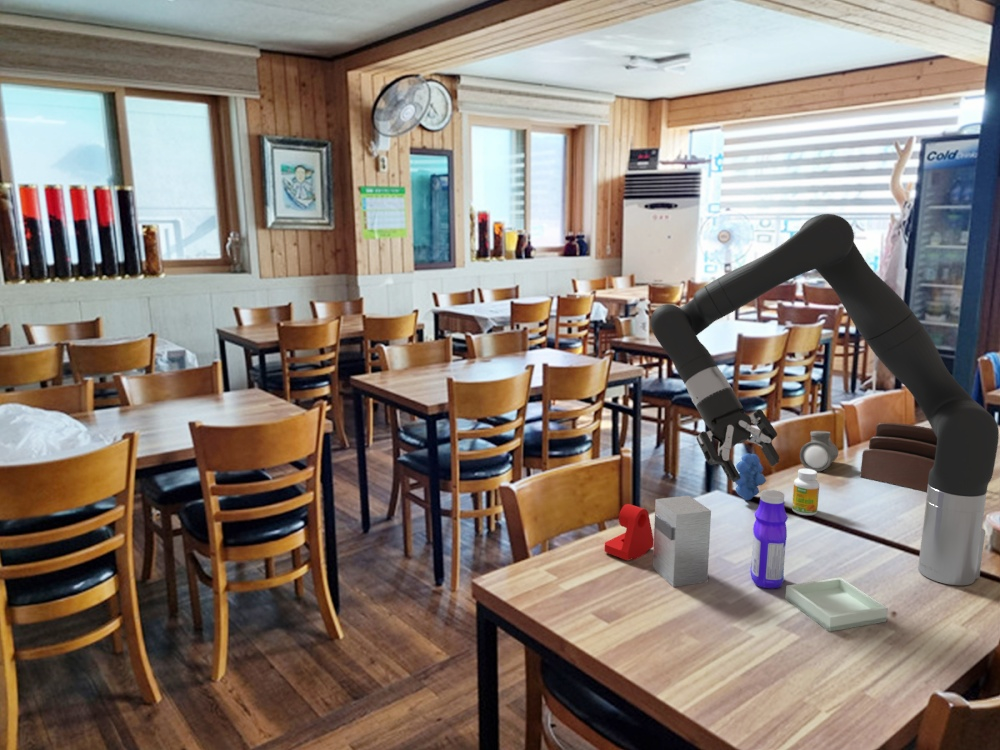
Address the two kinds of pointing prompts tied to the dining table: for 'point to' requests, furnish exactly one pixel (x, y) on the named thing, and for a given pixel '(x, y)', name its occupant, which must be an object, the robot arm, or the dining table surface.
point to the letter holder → (900, 455)
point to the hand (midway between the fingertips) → (756, 472)
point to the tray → (836, 604)
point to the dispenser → (681, 540)
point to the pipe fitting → (818, 451)
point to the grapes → (749, 476)
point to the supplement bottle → (805, 492)
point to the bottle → (769, 540)
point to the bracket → (632, 534)
